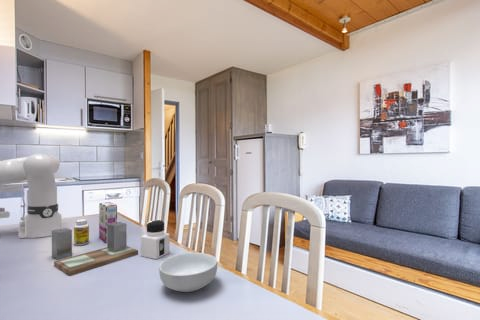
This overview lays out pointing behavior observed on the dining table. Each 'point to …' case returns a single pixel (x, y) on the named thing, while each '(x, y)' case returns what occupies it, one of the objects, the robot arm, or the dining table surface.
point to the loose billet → (61, 243)
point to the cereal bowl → (188, 271)
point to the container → (155, 240)
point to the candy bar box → (106, 218)
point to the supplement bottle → (81, 232)
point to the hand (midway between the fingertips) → (6, 212)
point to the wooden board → (92, 260)
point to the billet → (116, 237)
